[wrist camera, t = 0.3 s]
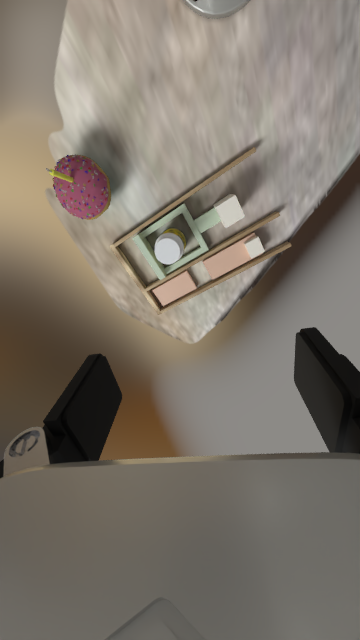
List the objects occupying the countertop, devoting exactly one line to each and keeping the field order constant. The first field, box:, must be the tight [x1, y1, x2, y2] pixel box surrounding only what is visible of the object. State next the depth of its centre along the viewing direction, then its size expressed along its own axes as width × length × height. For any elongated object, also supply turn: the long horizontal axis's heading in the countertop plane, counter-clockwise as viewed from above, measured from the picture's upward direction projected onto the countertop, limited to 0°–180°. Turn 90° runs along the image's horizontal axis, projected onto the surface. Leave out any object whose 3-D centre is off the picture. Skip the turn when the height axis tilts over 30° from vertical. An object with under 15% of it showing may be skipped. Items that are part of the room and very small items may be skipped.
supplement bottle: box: [155, 228, 186, 264], centre depth 38 cm, size 5×5×8 cm
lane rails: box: [110, 147, 291, 315], centre depth 41 cm, size 16×28×2 cm, turn 121°
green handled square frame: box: [132, 194, 245, 280], centre depth 37 cm, size 9×17×7 cm, turn 121°
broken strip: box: [152, 232, 265, 306], centre depth 43 cm, size 4×22×2 cm, turn 121°
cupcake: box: [46, 155, 111, 220], centre depth 33 cm, size 9×8×12 cm
